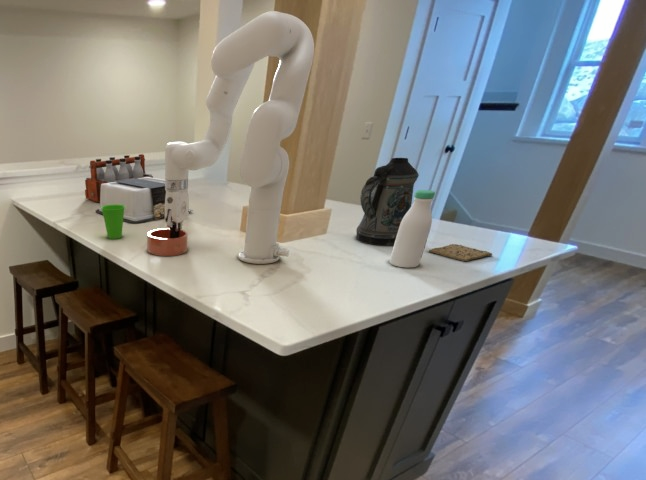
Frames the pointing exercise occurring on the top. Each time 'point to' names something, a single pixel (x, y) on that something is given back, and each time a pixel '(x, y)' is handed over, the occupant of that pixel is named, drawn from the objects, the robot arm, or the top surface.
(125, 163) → the milk bottle holder
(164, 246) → the bowl
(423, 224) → the milk bottle
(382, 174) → the beer stein
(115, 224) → the cup
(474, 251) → the cookie
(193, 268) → the top surface
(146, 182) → the cake box
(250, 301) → the top surface
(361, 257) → the top surface
